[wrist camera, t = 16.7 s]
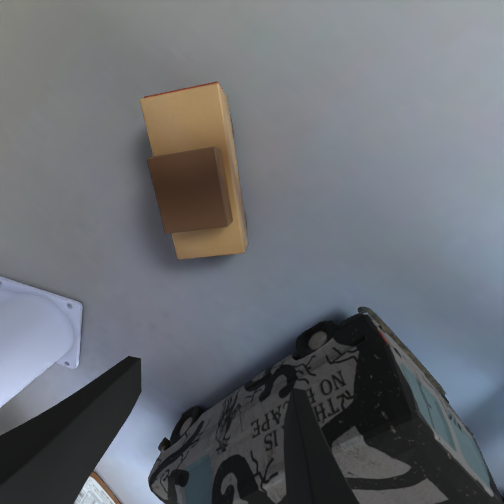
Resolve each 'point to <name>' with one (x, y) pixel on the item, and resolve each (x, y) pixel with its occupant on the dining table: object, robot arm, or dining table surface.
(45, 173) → the dining table surface
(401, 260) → the dining table surface
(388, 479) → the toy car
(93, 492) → the tin
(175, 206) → the wooden car
